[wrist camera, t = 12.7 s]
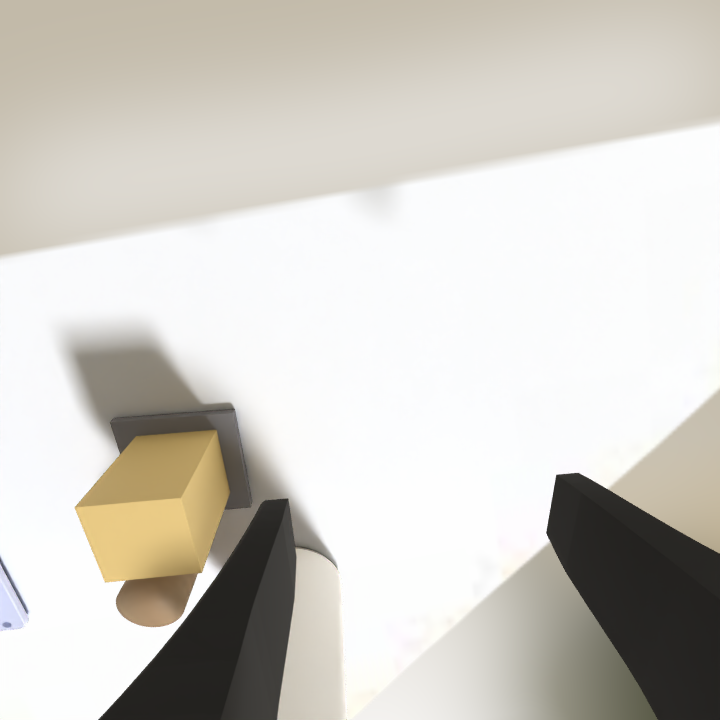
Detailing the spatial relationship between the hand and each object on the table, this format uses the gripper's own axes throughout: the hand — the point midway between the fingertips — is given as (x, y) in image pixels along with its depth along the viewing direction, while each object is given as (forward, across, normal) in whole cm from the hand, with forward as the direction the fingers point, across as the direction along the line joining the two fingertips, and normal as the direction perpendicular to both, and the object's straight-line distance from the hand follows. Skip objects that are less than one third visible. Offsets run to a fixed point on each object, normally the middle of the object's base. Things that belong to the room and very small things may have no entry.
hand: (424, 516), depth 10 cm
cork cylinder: (+10, +12, +10) cm, 18 cm away
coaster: (+10, +10, +4) cm, 15 cm away
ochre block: (+10, +10, +4) cm, 15 cm away
